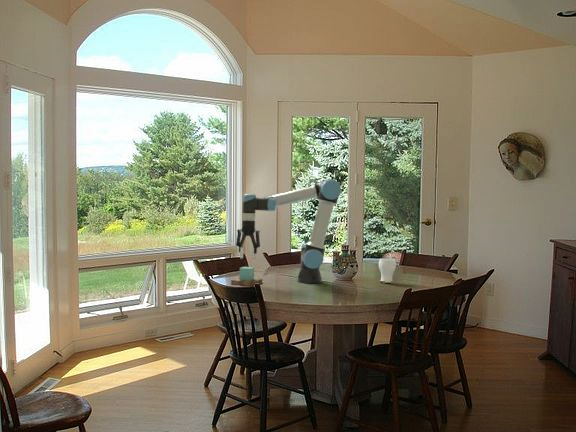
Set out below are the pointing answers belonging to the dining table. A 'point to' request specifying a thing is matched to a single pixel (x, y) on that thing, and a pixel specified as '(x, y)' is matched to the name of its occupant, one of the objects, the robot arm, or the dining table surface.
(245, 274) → the mint green cube
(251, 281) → the stand
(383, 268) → the cup
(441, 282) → the dining table surface
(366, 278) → the dining table surface
